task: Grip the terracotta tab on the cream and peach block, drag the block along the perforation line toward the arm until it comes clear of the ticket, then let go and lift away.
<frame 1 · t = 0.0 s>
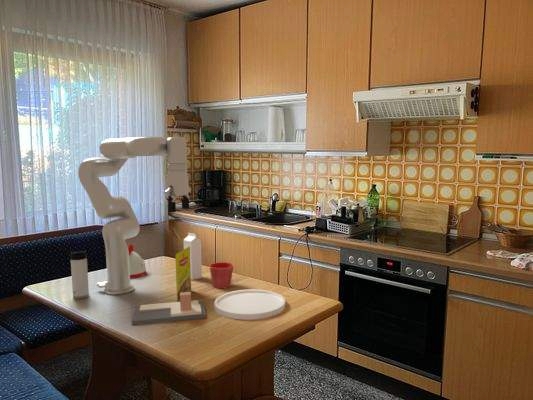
hand: (179, 210, 172), 37 cm above the table, tool pointing down, fingers open, 9 cm apart
plate: (249, 307, 168), on the table
milk: (193, 278, 207), on the table
food package: (184, 296, 180), on the table
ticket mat: (169, 313, 161), on the table
travel mug: (81, 297, 181), on the table
flower pot: (221, 286, 194), on the table
kitchen timer: (131, 274, 214), on the table
cream and peach block: (185, 302, 158), point 5 cm above the table, slide at 0.0 cm
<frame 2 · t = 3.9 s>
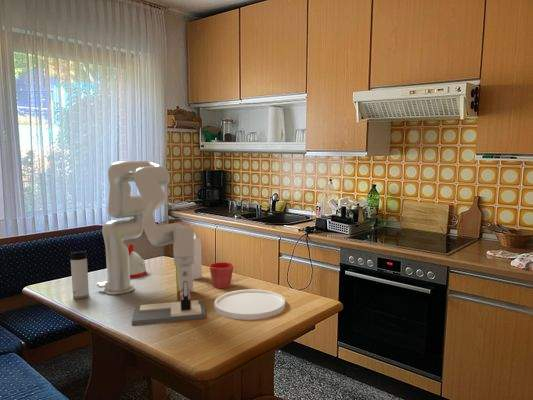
hand: (185, 307, 158), 3 cm above the table, tool pointing down, fingers closed on cream and peach block, 3 cm apart
cream and peach block: (185, 302, 158), point 5 cm above the table, slide at 0.0 cm, touching gripper
everything else where it was.
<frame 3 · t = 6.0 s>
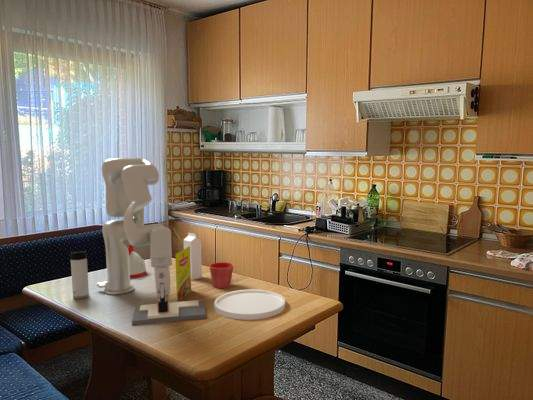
hand: (163, 309, 156), 3 cm above the table, tool pointing down, fingers closed on cream and peach block, 3 cm apart
cream and peach block: (163, 304, 156), point 5 cm above the table, slide at 8.2 cm, touching gripper
everything else where it was.
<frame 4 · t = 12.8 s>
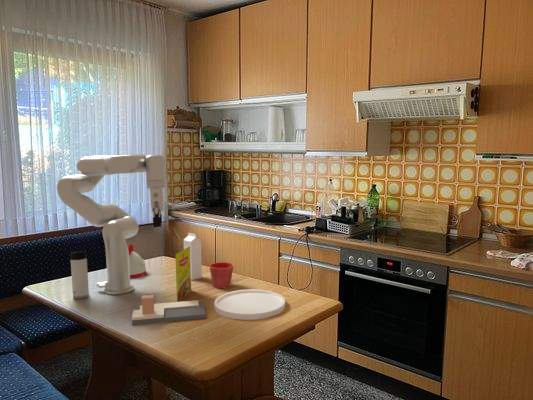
hand: (157, 224, 180), 30 cm above the table, tool pointing down, fingers open, 9 cm apart
cream and peach block: (148, 305, 155), point 5 cm above the table, slide at 13.5 cm
everything else where it was.
at the end: cream and peach block slide at 13.5 cm; the gripper is holding nothing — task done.
